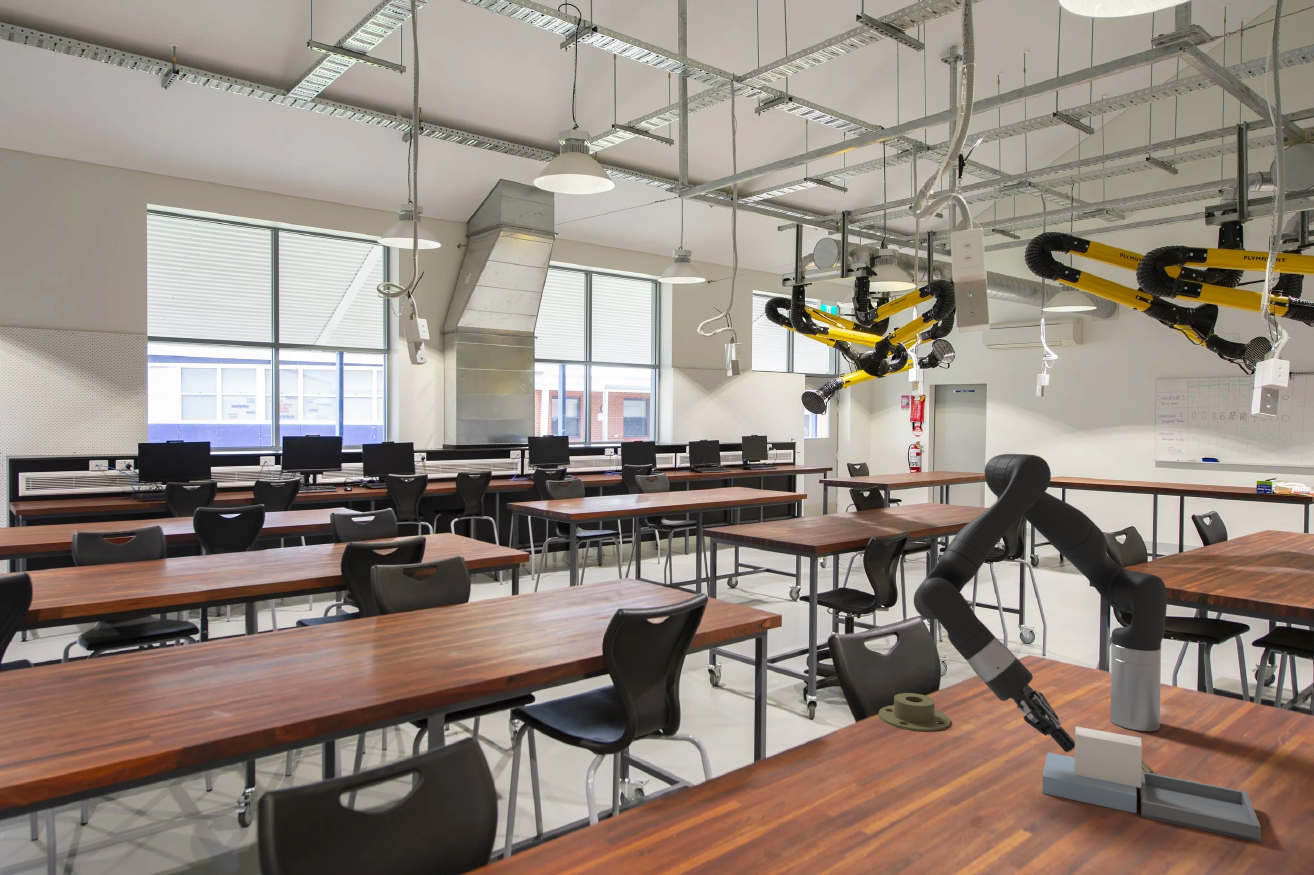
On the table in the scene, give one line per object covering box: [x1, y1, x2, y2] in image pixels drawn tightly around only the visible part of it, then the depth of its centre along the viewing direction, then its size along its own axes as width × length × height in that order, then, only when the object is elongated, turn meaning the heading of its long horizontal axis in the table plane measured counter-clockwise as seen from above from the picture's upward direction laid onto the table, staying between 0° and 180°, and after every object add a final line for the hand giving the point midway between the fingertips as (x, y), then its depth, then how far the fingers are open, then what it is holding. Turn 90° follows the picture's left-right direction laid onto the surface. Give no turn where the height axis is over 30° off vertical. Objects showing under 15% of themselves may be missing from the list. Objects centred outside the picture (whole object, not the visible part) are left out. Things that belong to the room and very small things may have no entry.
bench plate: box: [1042, 751, 1138, 814], centre depth 138 cm, size 12×14×3 cm
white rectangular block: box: [1074, 726, 1143, 789], centre depth 137 cm, size 4×10×7 cm, turn 60°
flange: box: [878, 692, 951, 732], centre depth 172 cm, size 5×15×15 cm
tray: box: [1138, 770, 1262, 844], centre depth 130 cm, size 14×16×2 cm
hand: (1071, 748), depth 140 cm, fingers closed
